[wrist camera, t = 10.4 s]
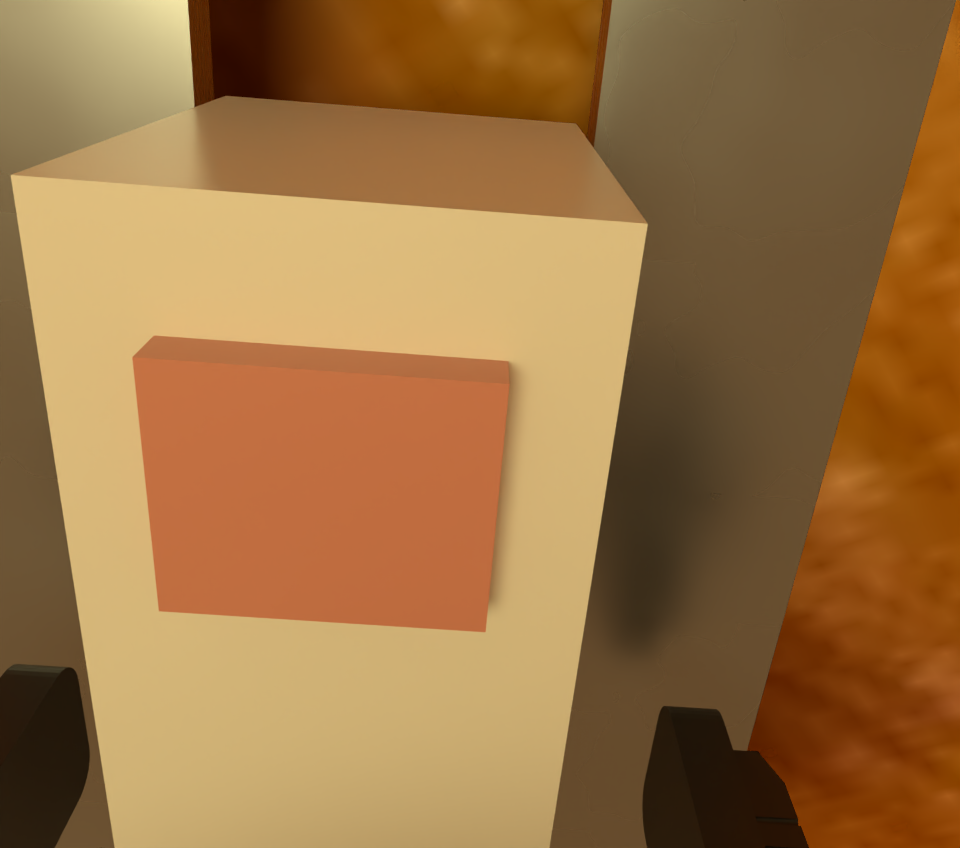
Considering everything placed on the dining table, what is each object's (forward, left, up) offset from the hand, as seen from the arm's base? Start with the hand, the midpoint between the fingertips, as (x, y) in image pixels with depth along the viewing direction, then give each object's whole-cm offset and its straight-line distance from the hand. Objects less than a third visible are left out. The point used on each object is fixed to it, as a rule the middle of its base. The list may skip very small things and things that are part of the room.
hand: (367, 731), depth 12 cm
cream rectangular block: (0, 0, -4) cm, 5 cm away
